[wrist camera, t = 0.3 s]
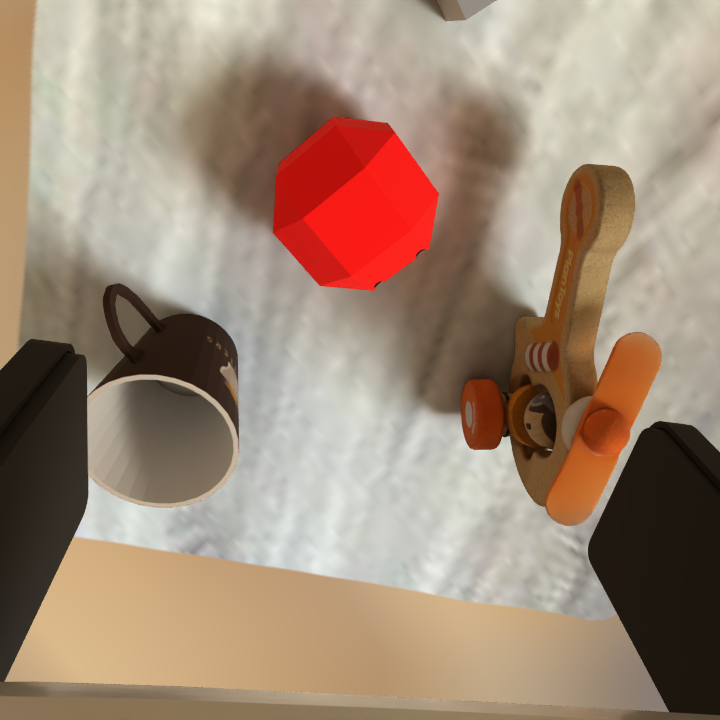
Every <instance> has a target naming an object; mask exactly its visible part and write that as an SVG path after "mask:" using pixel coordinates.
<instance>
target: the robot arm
mask: <svg viewBox="0 0 720 720" xmlns="http://www.w3.org/2000/svg"><path fill="white" fill-rule="evenodd" d="M87 500H88V427H87V363H86V358H85V356H84V355H79V354H75V351H74V348H73V346H72V345H71V344H66V343H59V342H51V341H44V340H36V339H30V340H29V341H27V342H26V343H25V345H24V346H23V347H22V348H21V349H20V350H19V351H18V352H17V353H16V354H15V355H14V356H13V357H12V358H11V360H10V361H9V362H8V363H7V364H6V365H5V366H4V367H3V368H2V369H1V370H0V720H720V452H719V451H718V450H717V449H716V448H715V447H714V446H713V445H712V444H711V443H710V442H709V441H708V440H707V439H706V438H705V437H704V436H703V435H702V434H701V433H700V432H699V431H698V430H697V429H696V428H695V427H693V426H692V425H686V424H678V423H670V422H663V421H658V422H655V423H654V424H653V425H651V426H650V428H646V429H644V430H643V431H642V432H641V434H640V435H639V437H638V439H637V442H636V444H635V446H634V448H633V450H632V452H631V454H630V456H629V459H628V461H627V463H626V465H625V467H624V469H623V471H622V473H621V476H620V478H619V480H618V482H617V484H616V486H615V488H614V490H613V493H612V495H611V497H610V499H609V501H608V503H607V505H606V507H605V510H604V512H603V514H602V516H601V518H600V520H599V522H598V524H597V527H596V529H595V531H594V533H593V535H592V537H591V539H590V542H589V546H588V556H589V560H590V563H591V565H592V567H593V569H594V571H595V573H596V574H597V576H598V578H599V580H600V582H601V584H602V586H603V588H604V590H605V591H606V593H607V595H608V597H609V599H610V601H611V603H612V605H613V607H614V608H615V610H616V612H617V614H618V616H619V618H620V620H621V622H622V624H623V625H624V627H625V629H626V631H627V633H628V635H629V637H630V639H631V641H632V642H633V644H634V646H635V648H636V650H637V652H638V654H639V656H640V657H641V659H642V661H643V663H644V665H645V667H646V669H647V671H648V673H649V674H650V676H651V678H652V680H653V682H654V684H655V686H656V688H657V690H658V692H659V693H660V695H661V697H662V699H663V701H664V703H665V705H666V707H667V708H668V710H669V712H655V711H639V710H638V711H637V710H623V709H605V708H587V707H570V706H552V705H533V704H516V703H498V702H479V701H460V700H441V699H424V698H405V697H385V696H364V695H345V694H325V693H305V692H284V691H282V692H281V691H264V690H243V689H222V688H203V687H182V686H151V685H122V684H121V685H120V684H90V683H60V682H4V681H5V679H6V677H7V675H8V673H9V671H10V669H11V666H12V664H13V662H14V660H15V658H16V656H17V654H18V652H19V650H20V647H21V645H22V643H23V641H24V639H25V637H26V635H27V633H28V631H29V629H30V626H31V624H32V622H33V620H34V618H35V616H36V614H37V612H38V610H39V608H40V606H41V603H42V601H43V599H44V597H45V595H46V593H47V591H48V589H49V586H50V585H51V583H52V580H53V578H54V576H55V574H56V572H57V570H58V568H59V566H60V563H61V561H62V559H63V557H64V555H65V553H66V551H67V549H68V546H69V545H70V542H71V541H72V538H73V536H74V534H75V532H76V530H77V528H78V526H79V524H80V522H81V520H82V517H83V515H84V512H85V509H86V505H87Z"/></svg>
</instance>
